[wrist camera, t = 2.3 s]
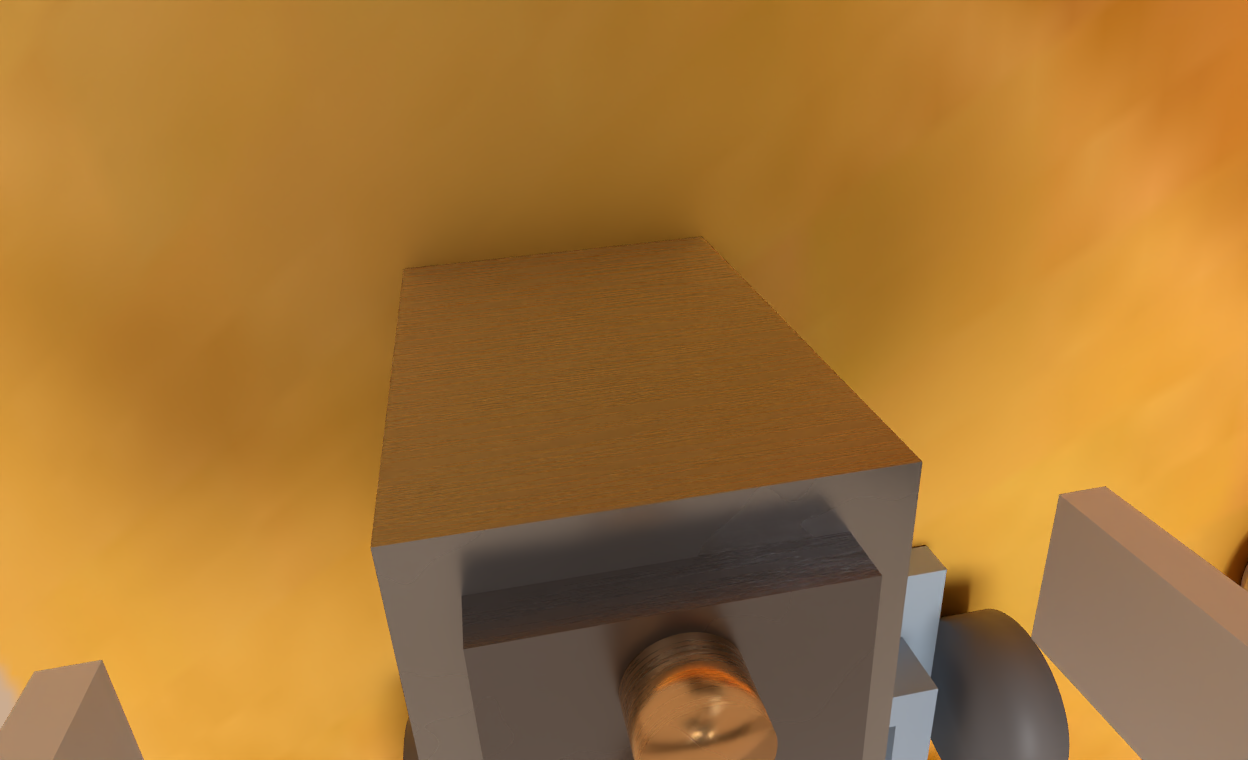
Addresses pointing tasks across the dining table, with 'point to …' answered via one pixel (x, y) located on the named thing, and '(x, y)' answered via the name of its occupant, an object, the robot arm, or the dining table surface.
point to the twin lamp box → (634, 518)
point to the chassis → (961, 683)
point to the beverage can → (1245, 579)
